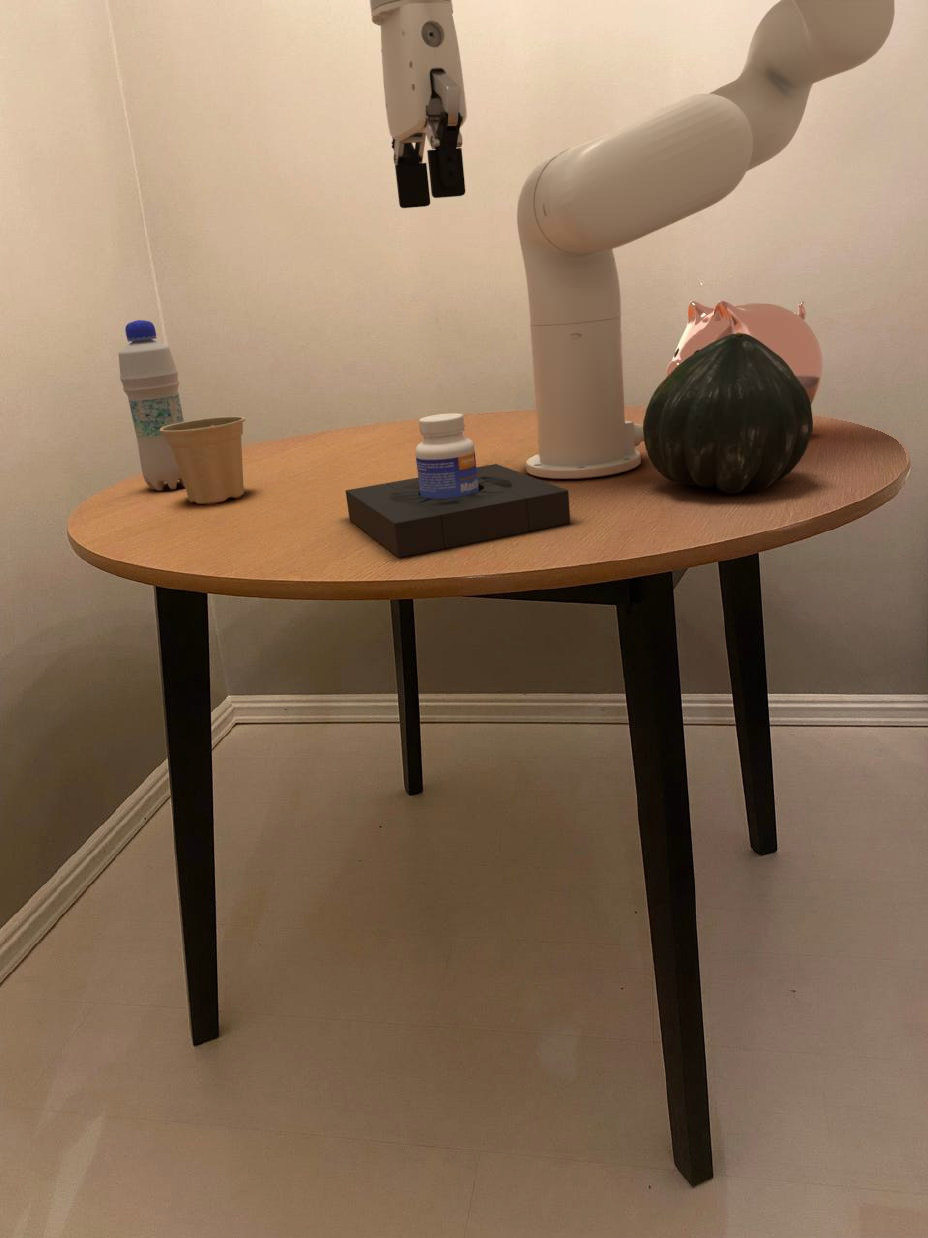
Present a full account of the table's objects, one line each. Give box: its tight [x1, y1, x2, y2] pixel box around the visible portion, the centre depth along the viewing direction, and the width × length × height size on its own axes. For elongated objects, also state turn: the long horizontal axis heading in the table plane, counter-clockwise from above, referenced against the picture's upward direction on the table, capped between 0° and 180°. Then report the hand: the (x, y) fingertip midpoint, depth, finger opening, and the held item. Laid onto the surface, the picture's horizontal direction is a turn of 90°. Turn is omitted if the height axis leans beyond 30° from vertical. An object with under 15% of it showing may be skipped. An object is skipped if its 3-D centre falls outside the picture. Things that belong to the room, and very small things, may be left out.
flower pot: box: [160, 415, 246, 505], centre depth 107 cm, size 9×9×9 cm
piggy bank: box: [665, 300, 823, 437], centre depth 108 cm, size 15×18×16 cm
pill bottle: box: [414, 412, 479, 498], centre depth 86 cm, size 5×5×10 cm
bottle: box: [117, 319, 185, 492], centre depth 114 cm, size 7×7×20 cm
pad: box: [345, 463, 571, 559], centre depth 87 cm, size 16×16×3 cm
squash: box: [642, 333, 814, 495], centre depth 88 cm, size 14×15×15 cm
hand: (431, 201), depth 92 cm, fingers open, 9 cm apart
